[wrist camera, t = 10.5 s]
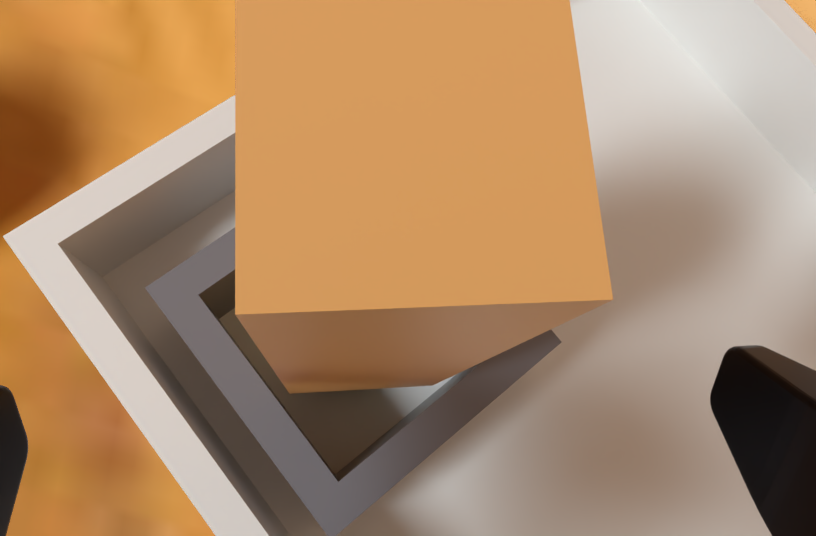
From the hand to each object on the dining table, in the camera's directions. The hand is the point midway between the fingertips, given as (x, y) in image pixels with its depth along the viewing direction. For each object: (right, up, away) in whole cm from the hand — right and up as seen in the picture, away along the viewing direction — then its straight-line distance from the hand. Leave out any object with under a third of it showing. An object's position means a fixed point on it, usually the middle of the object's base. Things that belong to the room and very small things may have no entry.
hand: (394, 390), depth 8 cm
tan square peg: (-1, 0, +9) cm, 9 cm away
